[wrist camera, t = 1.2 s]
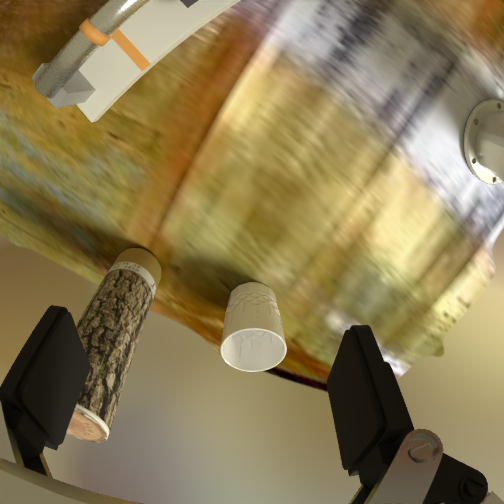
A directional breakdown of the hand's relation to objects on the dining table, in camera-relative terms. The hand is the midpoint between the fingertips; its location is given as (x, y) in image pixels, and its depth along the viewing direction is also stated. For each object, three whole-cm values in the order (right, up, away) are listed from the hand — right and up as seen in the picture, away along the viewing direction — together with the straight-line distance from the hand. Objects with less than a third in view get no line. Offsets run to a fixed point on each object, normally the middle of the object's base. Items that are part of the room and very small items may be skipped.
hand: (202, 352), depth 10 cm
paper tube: (-14, +1, +32) cm, 35 cm away
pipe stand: (-10, +29, +16) cm, 35 cm away
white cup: (+2, -4, +35) cm, 36 cm away
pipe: (-10, +25, +11) cm, 29 cm away
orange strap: (-13, +26, +16) cm, 33 cm away
